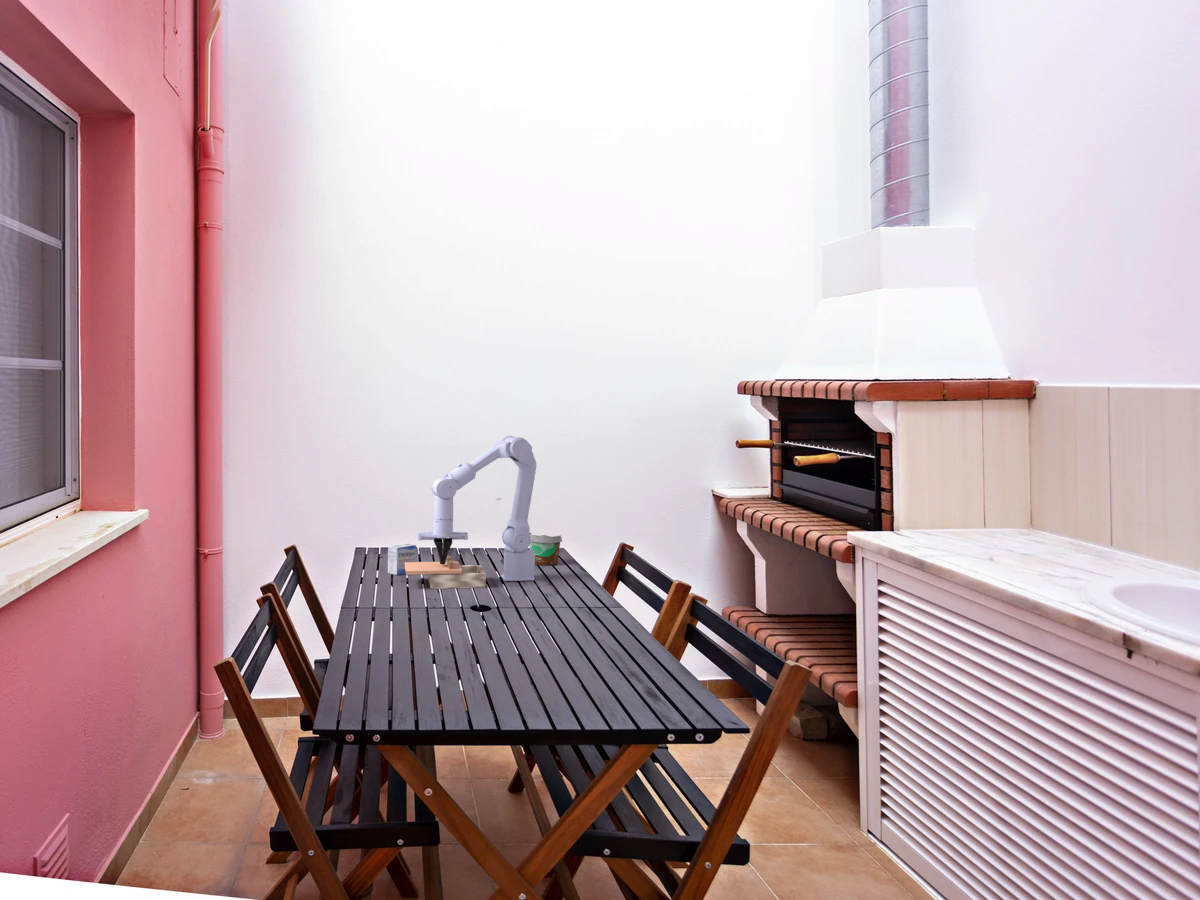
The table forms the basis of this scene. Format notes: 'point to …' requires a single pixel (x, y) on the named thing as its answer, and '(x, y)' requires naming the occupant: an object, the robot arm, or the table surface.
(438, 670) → the table surface
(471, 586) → the storage case
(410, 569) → the sliding lid
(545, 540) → the food container
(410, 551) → the medicine box
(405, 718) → the table surface
